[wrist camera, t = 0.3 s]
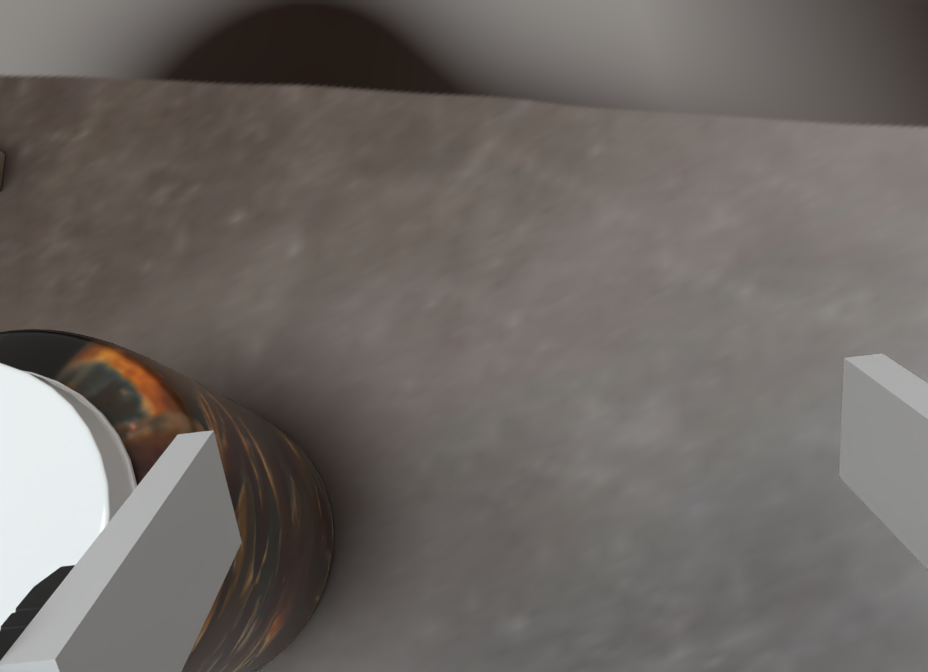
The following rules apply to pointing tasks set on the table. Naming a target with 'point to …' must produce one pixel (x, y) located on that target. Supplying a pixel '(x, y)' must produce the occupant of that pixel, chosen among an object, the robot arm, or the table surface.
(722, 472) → the table surface
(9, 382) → the jar
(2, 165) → the stopper
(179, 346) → the table surface
